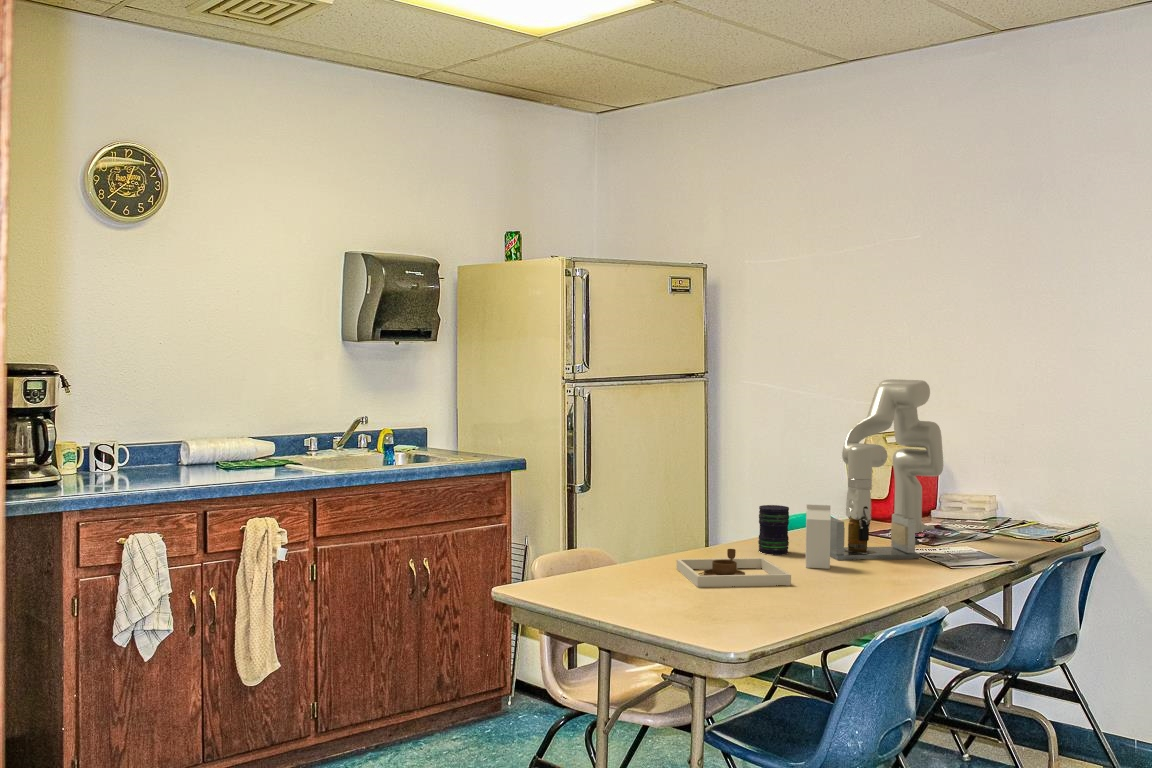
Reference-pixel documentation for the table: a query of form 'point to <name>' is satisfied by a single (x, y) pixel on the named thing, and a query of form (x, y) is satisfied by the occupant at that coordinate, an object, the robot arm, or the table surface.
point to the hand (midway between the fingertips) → (858, 538)
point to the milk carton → (818, 536)
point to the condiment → (856, 538)
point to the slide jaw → (903, 533)
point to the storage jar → (773, 529)
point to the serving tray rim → (771, 579)
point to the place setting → (724, 566)
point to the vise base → (881, 553)
